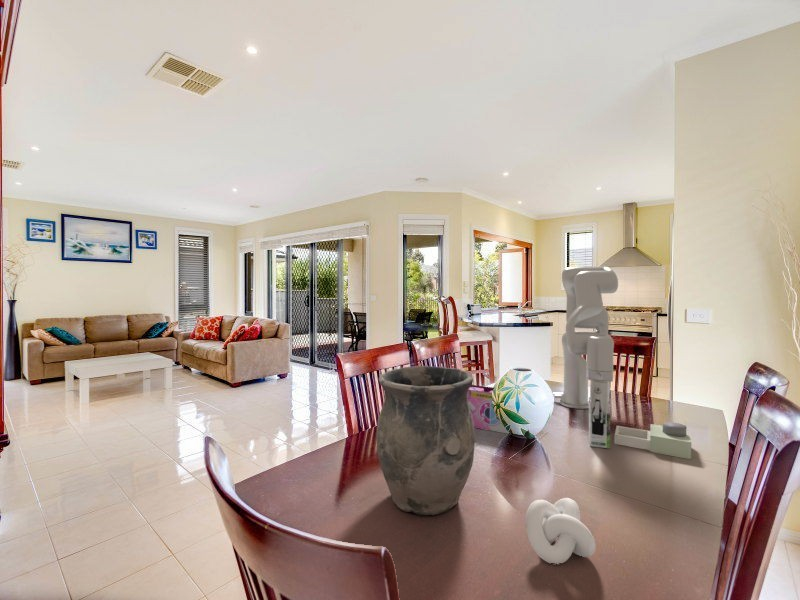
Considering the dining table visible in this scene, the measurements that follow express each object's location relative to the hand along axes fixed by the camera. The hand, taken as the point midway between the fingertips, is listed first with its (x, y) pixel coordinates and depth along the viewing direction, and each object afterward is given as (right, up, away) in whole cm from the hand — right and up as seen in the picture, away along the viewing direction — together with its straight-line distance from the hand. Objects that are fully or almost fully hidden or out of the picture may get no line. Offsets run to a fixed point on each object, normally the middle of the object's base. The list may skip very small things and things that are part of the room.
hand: (599, 430), depth 124 cm
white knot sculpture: (-33, -6, -50) cm, 60 cm away
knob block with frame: (+16, -4, -1) cm, 17 cm away
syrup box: (0, -5, 0) cm, 5 cm away
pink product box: (-29, -4, +16) cm, 34 cm away
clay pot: (-57, -6, -32) cm, 66 cm away
